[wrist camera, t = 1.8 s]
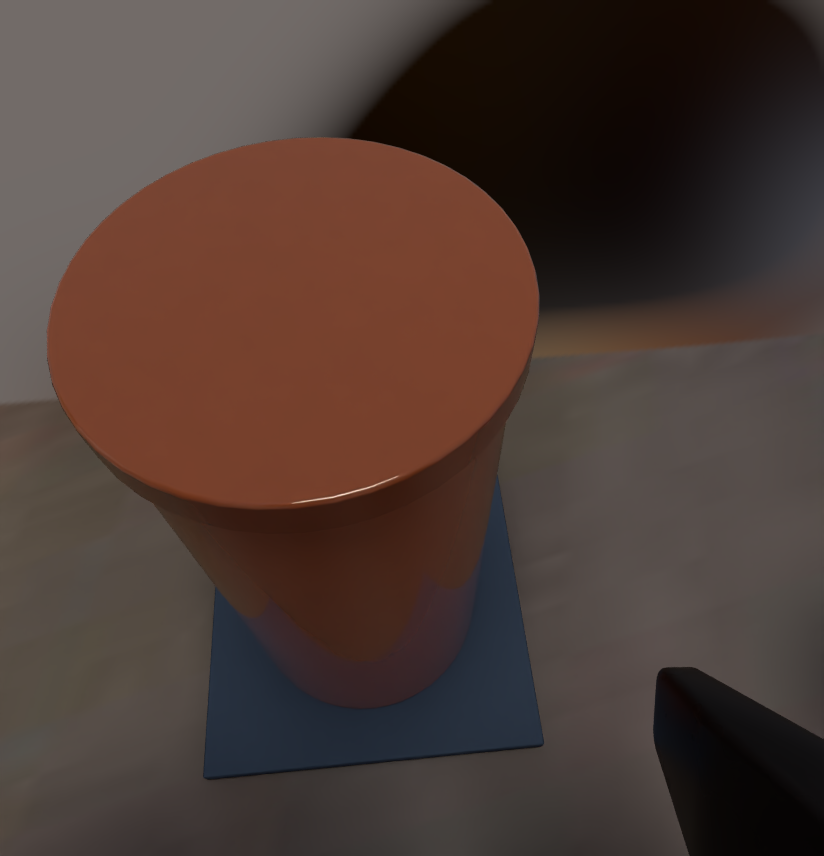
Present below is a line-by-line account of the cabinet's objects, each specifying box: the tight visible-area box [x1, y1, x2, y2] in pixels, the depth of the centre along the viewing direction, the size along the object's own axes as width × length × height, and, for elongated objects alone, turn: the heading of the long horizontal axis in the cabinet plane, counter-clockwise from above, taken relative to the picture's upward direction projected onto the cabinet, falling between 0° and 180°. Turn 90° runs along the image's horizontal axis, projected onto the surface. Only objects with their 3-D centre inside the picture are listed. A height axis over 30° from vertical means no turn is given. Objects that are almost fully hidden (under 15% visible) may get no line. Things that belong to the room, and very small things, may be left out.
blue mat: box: [203, 475, 544, 779], centre depth 21 cm, size 9×9×1 cm
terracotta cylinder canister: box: [47, 137, 539, 709], centre depth 15 cm, size 7×7×13 cm
